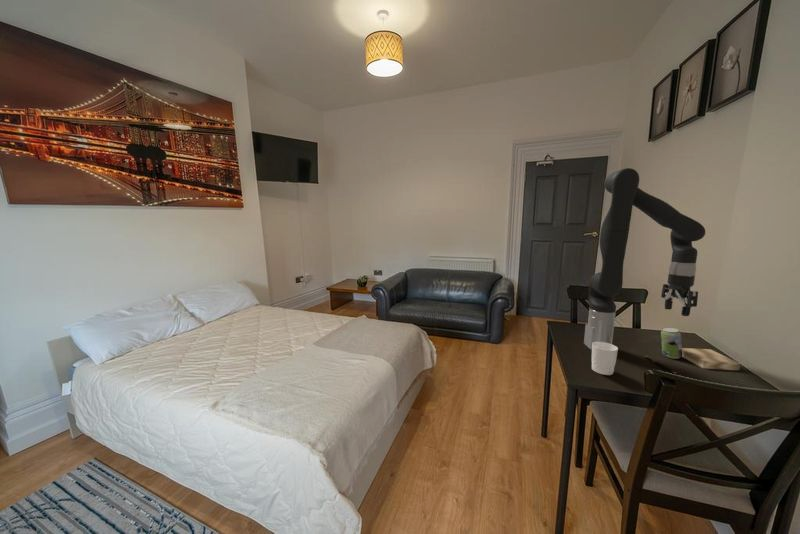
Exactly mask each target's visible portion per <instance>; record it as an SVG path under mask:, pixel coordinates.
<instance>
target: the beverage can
mask: <svg viewBox="0 0 800 534" xmlns="http://www.w3.org/2000/svg"><path fill="white" fill-rule="evenodd" d="M660 339H661V353H662V355H663V356H665V358H669V359H680V358H683V357H682V348H683V345H682V344H683V342H682V333H681V331H679V329H677V328H673V327H664V328H662V330H661V331H660Z"/></svg>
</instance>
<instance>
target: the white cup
mask: <svg viewBox="0 0 800 534" xmlns="http://www.w3.org/2000/svg"><path fill="white" fill-rule="evenodd" d="M618 352H619V348H618V346H616V345H614V344H613V343H612V344H609V343H605V342H593V343H592V349H591V370H592V371H594V372H595V373H597V374H600V375H603V376H611V375H613V374H614V371H615V366H616V362H617V357H618Z"/></svg>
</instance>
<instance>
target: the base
mask: <svg viewBox="0 0 800 534" xmlns="http://www.w3.org/2000/svg"><path fill="white" fill-rule="evenodd" d="M681 358H684V359H686V360H688V361H689V362H691V363H692V364H694V365H695V366H697V367H700V368H701V369H709V370H710V369H711V370H725V371H726V370H727V371H740V368H741V363H740V362H739V361H736V360H734V359H731V357H727V356H725V355H723V354H721V353H719V352H717V351H715V350H714V349H709V348H708V349H707V348H691V347H690V348H686V347H682V357H681Z"/></svg>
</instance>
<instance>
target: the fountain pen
mask: <svg viewBox="0 0 800 534" xmlns="http://www.w3.org/2000/svg"><path fill="white" fill-rule="evenodd" d="M643 358H644V359H646V360H648V361H649V362H651V363H652V364H655V365H656V366H659V367H661V368H662V369H665V370H666V371H669V372H671V373H673V374H678V373H677V372H675V371H674V370H673V369H671V368H670V367H667V366H666V365H664V364H662V363H660V362H658V361H657V360H656V359H654V358H652V357H650V356H649V355H648V356H647V355H643Z"/></svg>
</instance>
